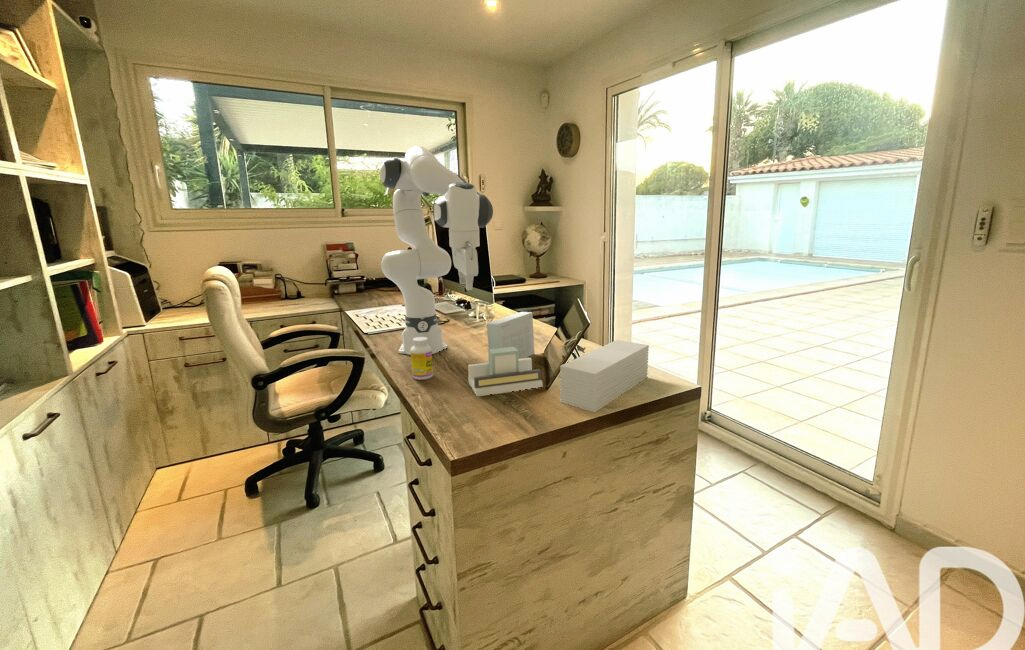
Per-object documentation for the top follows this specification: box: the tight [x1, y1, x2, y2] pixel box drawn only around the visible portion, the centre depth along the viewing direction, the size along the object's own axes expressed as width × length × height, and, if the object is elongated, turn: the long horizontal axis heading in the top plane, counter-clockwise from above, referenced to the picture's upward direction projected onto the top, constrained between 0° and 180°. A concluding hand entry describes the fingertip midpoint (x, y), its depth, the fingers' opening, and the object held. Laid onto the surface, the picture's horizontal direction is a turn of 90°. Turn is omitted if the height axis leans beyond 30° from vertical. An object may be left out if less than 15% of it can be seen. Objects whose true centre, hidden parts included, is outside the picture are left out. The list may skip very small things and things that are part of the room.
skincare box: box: [486, 311, 535, 359], centre depth 155 cm, size 21×6×16 cm, turn 144°
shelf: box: [467, 357, 543, 397], centre depth 133 cm, size 12×20×6 cm, turn 107°
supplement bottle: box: [410, 337, 434, 381], centre depth 141 cm, size 7×7×13 cm
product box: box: [487, 347, 519, 375], centre depth 132 cm, size 8×5×9 cm, turn 107°
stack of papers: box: [559, 339, 650, 413], centre depth 127 cm, size 32×11×11 cm, turn 139°
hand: (466, 286), depth 133 cm, fingers open, 8 cm apart
